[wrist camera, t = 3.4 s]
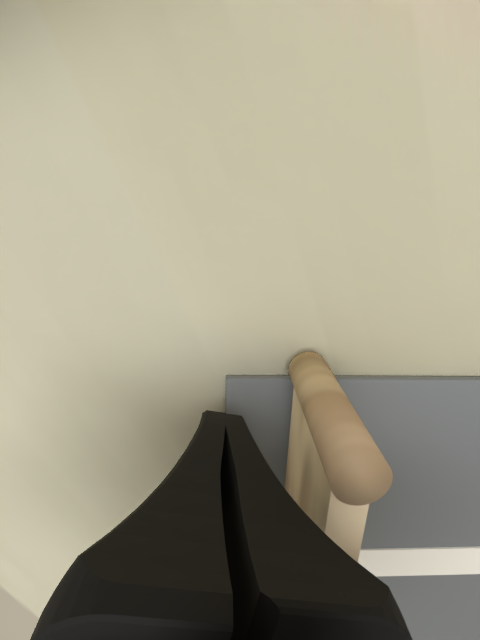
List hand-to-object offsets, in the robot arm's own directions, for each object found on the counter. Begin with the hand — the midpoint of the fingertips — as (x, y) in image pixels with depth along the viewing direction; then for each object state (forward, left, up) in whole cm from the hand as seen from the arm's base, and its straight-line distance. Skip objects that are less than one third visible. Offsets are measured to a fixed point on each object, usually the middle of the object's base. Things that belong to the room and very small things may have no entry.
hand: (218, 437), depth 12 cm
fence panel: (-3, +3, -2) cm, 4 cm away
